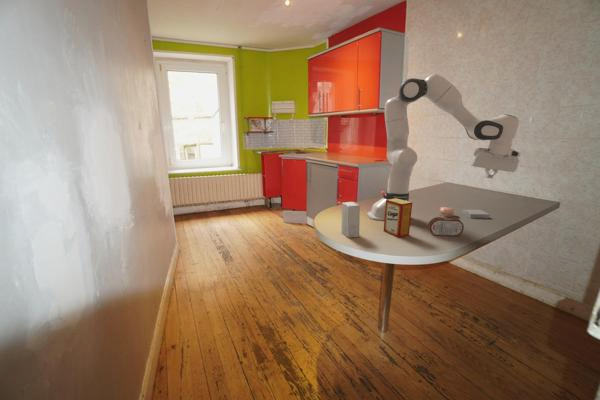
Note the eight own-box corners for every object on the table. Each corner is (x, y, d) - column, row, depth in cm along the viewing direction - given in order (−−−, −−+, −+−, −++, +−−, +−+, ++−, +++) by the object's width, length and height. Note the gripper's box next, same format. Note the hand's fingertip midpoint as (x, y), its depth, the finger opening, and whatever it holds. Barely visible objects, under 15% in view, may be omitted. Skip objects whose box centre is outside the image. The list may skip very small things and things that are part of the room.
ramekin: (442, 216, 159) (443, 210, 158) (437, 213, 166) (438, 206, 165) (455, 217, 159) (456, 210, 158) (449, 213, 165) (450, 206, 164)
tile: (470, 214, 156) (462, 209, 165) (470, 218, 157) (461, 214, 166) (489, 214, 156) (480, 209, 165) (488, 219, 157) (479, 214, 165)
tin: (460, 234, 132) (462, 217, 130) (463, 237, 129) (466, 219, 127) (426, 233, 133) (428, 216, 131) (429, 235, 130) (431, 218, 128)
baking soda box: (383, 231, 136) (386, 198, 132) (393, 229, 139) (396, 197, 135) (398, 237, 127) (402, 203, 124) (408, 235, 131) (412, 201, 127)
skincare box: (359, 237, 128) (361, 205, 124) (346, 238, 127) (348, 206, 123) (352, 230, 136) (353, 200, 132) (340, 231, 135) (341, 201, 131)
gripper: (479, 147, 133) (470, 176, 137) (524, 154, 132) (513, 182, 136) (473, 146, 139) (464, 173, 143) (516, 152, 138) (505, 179, 142)
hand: (488, 177), depth 140 cm, fingers closed
